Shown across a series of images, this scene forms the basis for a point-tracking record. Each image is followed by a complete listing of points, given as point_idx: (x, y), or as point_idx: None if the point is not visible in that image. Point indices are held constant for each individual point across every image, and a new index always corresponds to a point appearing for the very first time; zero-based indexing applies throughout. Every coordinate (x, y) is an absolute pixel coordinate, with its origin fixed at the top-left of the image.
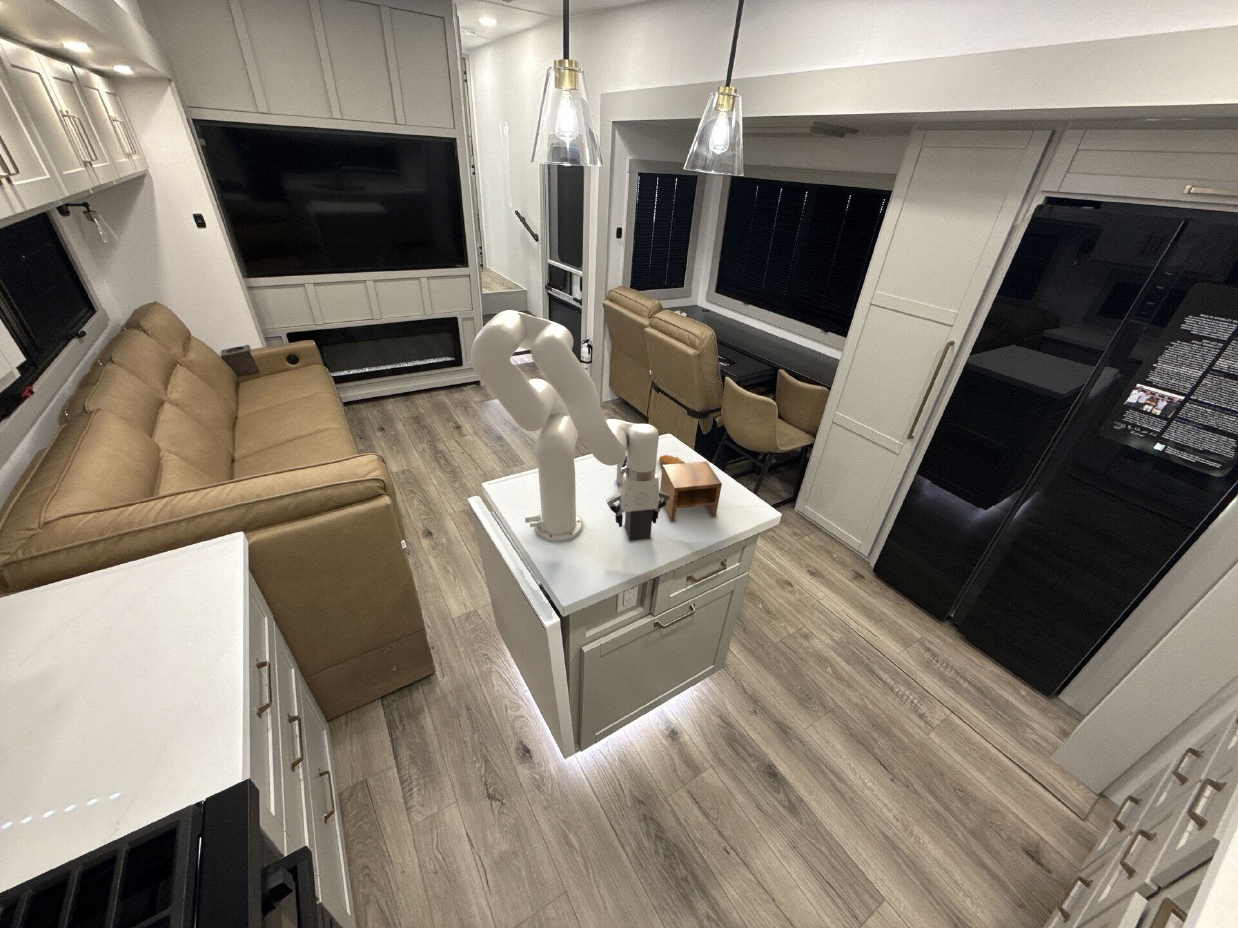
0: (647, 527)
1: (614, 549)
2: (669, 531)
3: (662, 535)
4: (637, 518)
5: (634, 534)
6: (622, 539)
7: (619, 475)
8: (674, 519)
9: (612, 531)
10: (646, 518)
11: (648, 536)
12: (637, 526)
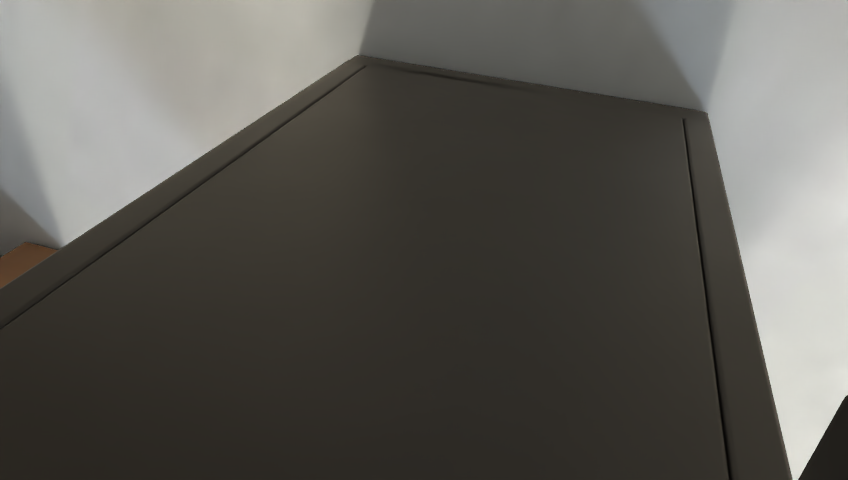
0: (314, 150)
1: None
2: (88, 107)
3: (180, 64)
4: (505, 430)
5: (618, 145)
6: (799, 188)
7: None
8: (6, 255)
9: (842, 391)
10: (199, 312)
11: (371, 72)
12: (538, 230)
